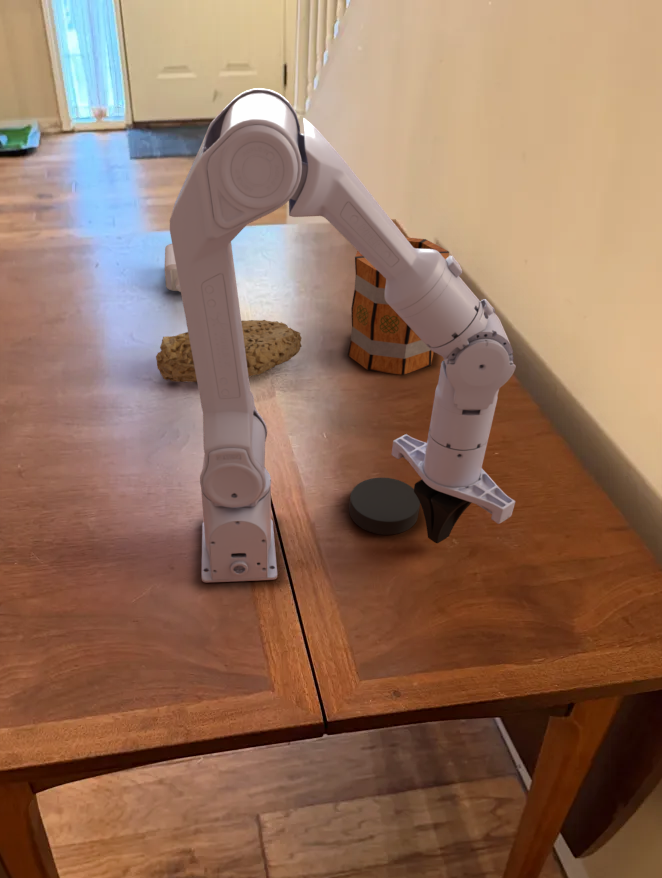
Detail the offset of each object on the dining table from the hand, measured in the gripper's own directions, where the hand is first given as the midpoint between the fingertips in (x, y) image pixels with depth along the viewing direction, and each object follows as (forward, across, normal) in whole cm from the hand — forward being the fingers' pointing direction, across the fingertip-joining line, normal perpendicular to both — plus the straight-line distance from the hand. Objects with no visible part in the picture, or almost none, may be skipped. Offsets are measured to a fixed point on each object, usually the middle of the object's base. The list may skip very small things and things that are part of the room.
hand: (438, 536), depth 85 cm
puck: (+2, +8, 0) cm, 8 cm away
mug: (+2, +36, -29) cm, 47 cm away
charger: (+2, +71, -17) cm, 73 cm away
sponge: (+2, +45, -6) cm, 45 cm away
